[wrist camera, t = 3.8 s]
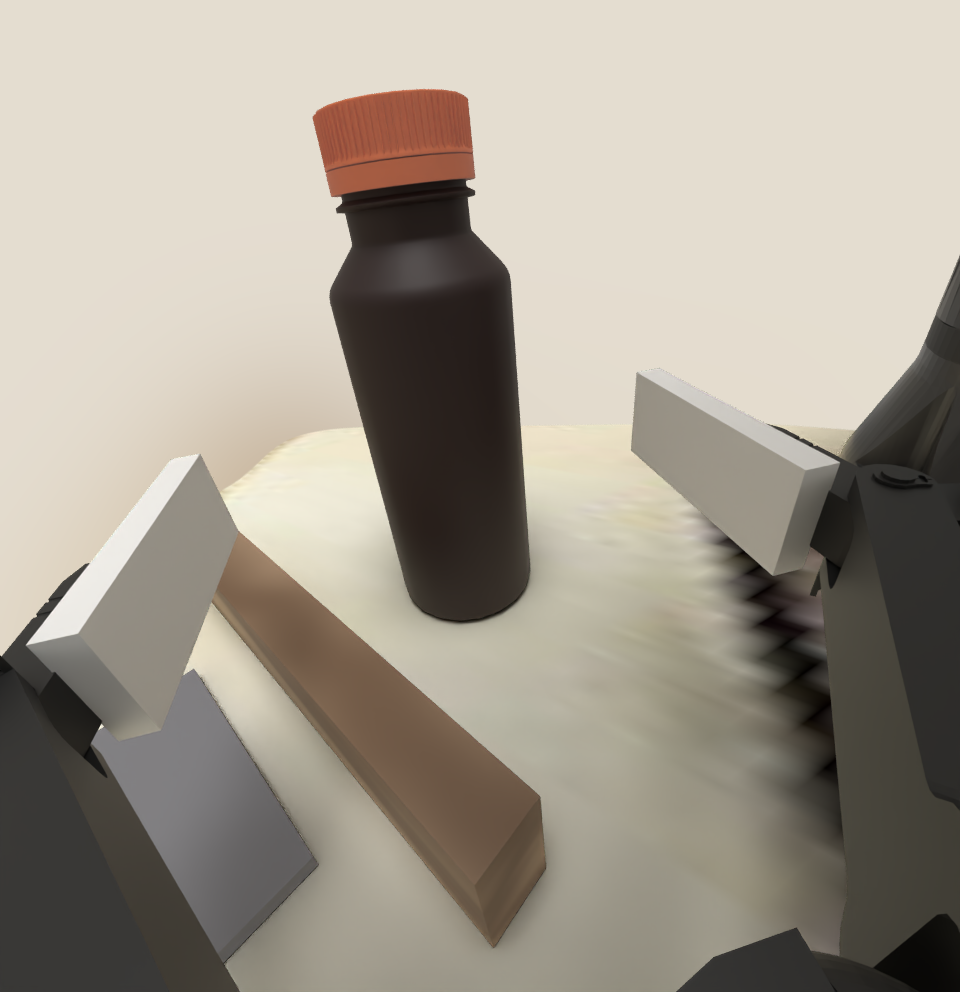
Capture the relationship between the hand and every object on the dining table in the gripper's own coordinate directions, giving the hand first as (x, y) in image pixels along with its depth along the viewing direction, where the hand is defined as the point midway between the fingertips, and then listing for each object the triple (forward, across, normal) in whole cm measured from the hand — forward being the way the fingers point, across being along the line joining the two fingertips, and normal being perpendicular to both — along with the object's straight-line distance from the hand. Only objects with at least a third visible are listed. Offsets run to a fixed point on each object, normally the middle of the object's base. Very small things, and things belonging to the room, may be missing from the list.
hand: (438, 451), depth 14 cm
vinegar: (+6, +1, -11) cm, 13 cm away
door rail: (+1, -7, -11) cm, 13 cm away
